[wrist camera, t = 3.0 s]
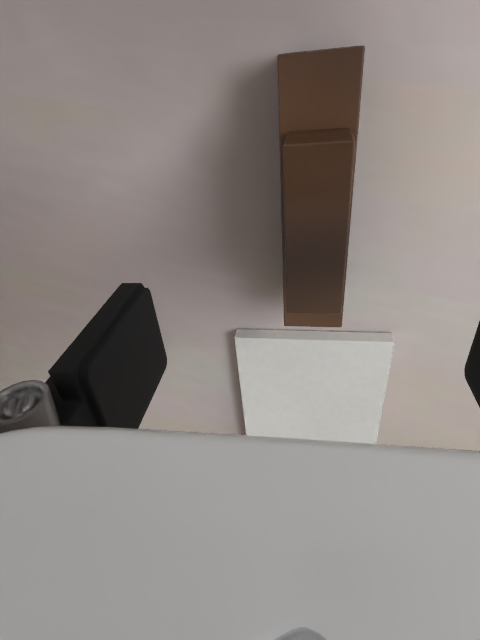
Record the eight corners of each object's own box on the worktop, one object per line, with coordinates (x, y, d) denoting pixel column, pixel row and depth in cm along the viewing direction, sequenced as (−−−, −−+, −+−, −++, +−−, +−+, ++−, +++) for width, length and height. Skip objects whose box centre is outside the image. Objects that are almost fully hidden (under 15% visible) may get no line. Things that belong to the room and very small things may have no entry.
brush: (283, 53, 16) (270, 55, 11) (355, 45, 16) (374, 44, 11) (288, 290, 23) (280, 356, 18) (338, 291, 23) (344, 359, 18)
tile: (236, 328, 26) (234, 337, 25) (392, 332, 24) (395, 342, 23) (251, 455, 34) (249, 465, 33) (368, 465, 32) (369, 475, 31)
